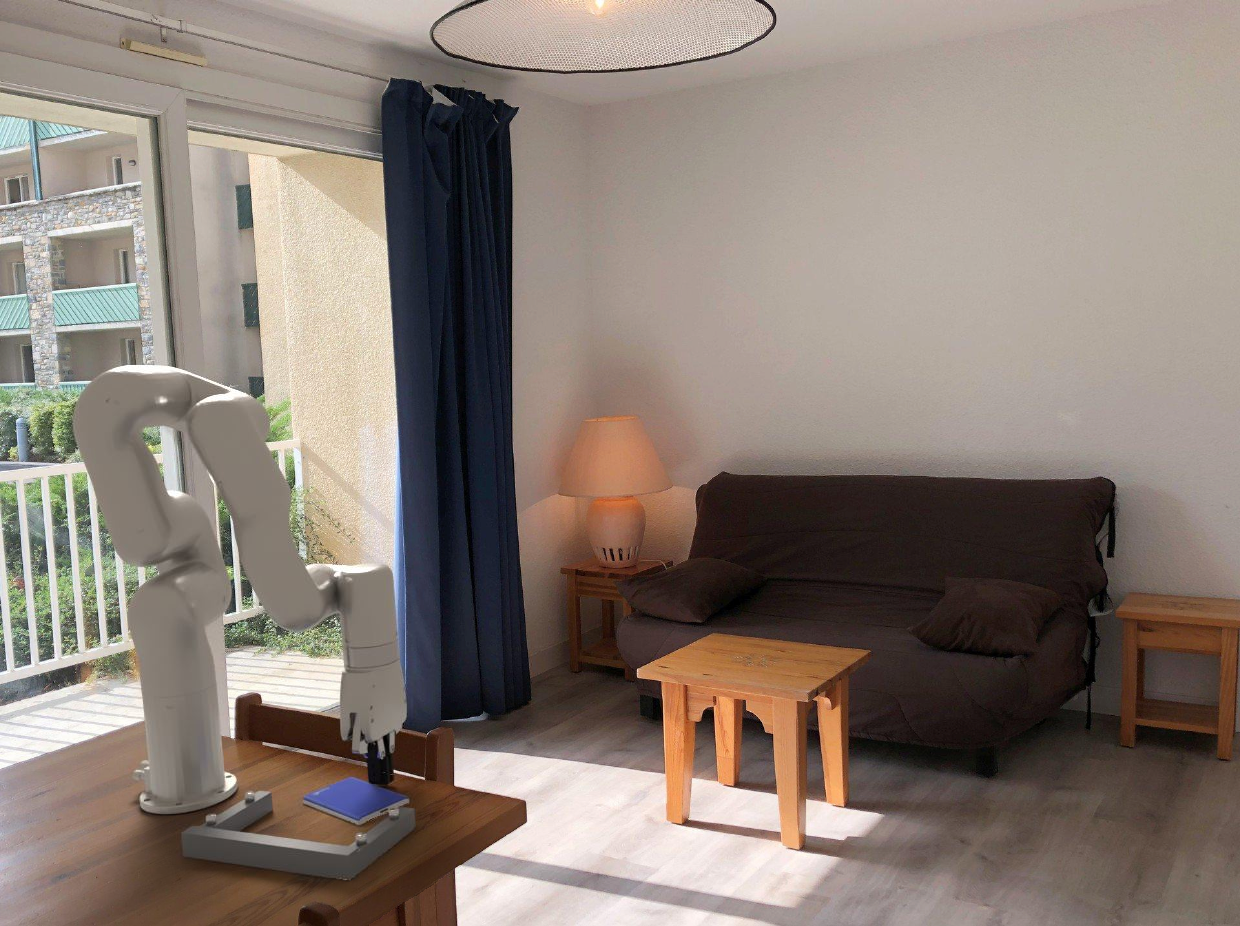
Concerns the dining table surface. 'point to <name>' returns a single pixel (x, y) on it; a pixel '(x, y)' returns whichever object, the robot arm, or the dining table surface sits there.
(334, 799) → the hard drive
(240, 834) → the drive tray
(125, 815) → the dining table surface
